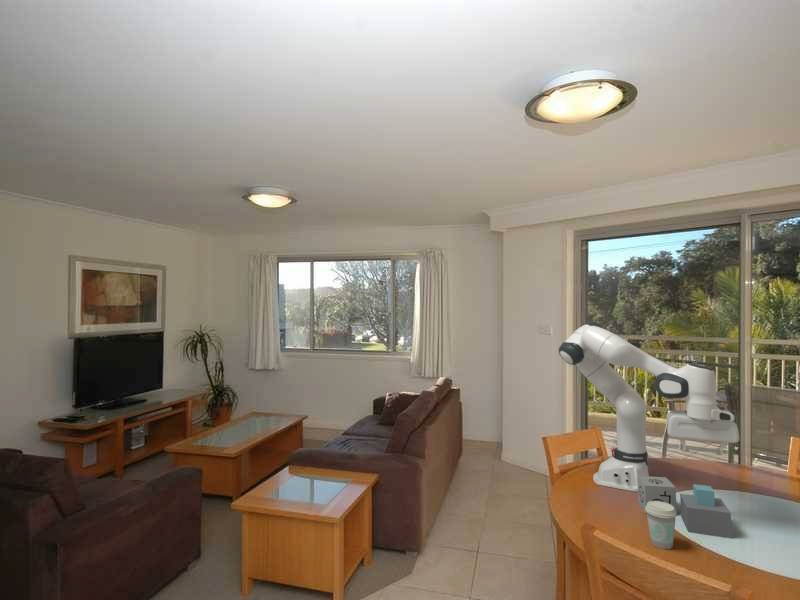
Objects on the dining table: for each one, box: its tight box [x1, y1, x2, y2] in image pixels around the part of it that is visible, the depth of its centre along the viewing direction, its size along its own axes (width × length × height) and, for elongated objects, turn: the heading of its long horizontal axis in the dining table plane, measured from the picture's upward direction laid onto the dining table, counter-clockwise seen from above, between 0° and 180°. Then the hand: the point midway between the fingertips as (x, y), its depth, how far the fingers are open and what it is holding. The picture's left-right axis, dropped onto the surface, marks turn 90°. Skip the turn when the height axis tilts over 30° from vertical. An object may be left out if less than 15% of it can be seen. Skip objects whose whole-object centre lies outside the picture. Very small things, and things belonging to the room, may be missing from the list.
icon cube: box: [637, 475, 678, 515], centre depth 164 cm, size 10×10×10 cm
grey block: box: [679, 493, 733, 539], centre depth 150 cm, size 12×12×8 cm
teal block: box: [692, 483, 716, 507], centre depth 150 cm, size 5×5×5 cm
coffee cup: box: [645, 501, 678, 550], centre depth 139 cm, size 8×9×12 cm
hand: (702, 452), depth 150 cm, fingers open, 8 cm apart
